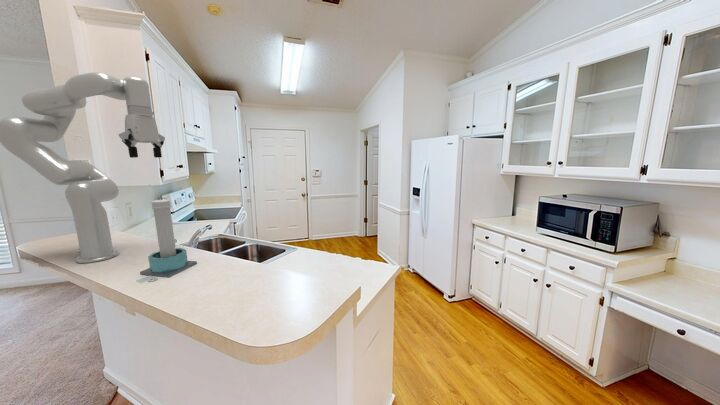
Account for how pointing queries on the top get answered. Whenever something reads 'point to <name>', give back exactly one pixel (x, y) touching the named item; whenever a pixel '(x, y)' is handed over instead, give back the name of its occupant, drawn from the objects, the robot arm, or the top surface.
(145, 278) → the mounting bracket
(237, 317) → the top surface
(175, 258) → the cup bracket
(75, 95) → the robot arm
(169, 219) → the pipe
